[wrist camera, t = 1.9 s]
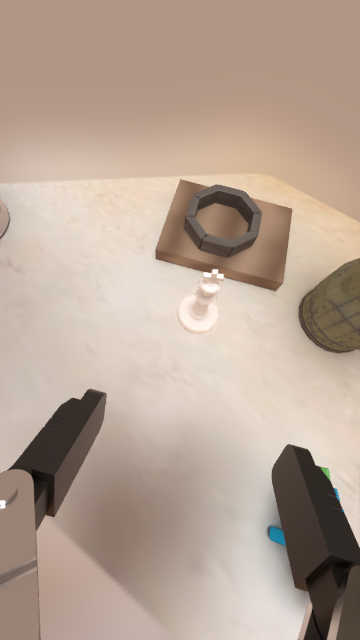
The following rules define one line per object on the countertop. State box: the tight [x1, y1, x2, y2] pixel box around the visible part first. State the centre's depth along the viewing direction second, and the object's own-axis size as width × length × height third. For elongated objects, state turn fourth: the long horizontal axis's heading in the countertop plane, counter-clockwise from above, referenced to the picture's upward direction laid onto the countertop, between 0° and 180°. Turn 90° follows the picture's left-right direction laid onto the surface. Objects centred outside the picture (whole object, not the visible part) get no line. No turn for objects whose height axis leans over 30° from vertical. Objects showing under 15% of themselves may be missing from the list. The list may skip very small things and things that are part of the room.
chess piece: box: [177, 269, 224, 334], centre depth 24 cm, size 5×5×10 cm
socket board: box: [156, 179, 292, 291], centre depth 31 cm, size 16×12×4 cm
